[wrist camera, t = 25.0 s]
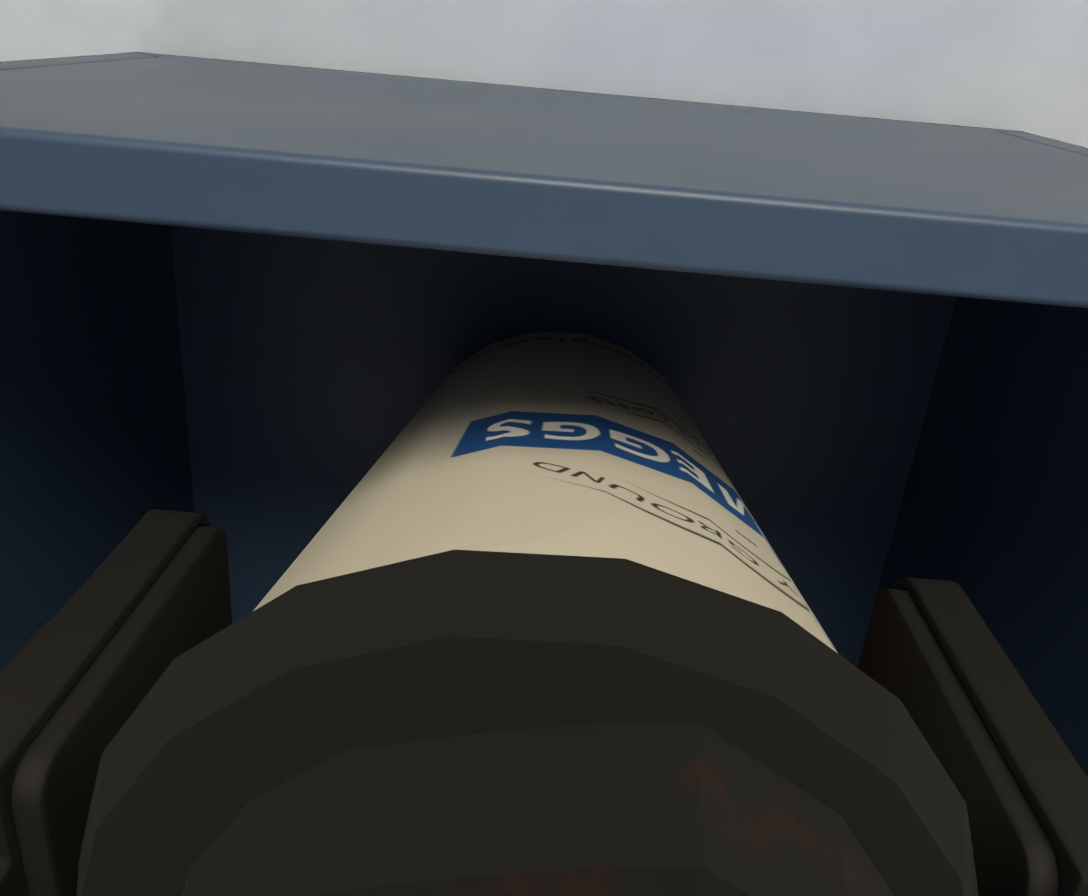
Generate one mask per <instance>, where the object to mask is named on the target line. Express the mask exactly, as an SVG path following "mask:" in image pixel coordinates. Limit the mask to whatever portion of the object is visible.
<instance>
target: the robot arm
mask: <svg viewBox="0 0 1088 896" xmlns="http://www.w3.org/2000/svg"><path fill="white" fill-rule="evenodd" d="M231 624H232V611H231V596H230V581H229V566H228V551H227V539H226V534H225V532H224V530H223V529H222V528H215V527H211V523H210V520H209V518H208V516H207V515H206V514H204V513H193V512H182V511H171V510H160V509H151V510H150V511H149V512H148V513H146V514H145V515H144V517H143V518H142V519H141V520H140V521H139V522H138V523H137V524H136V526H135V527H134V528H133V529H132V530H131V531H130V532H129V533H128V535H127V536H126V537H125V538H124V539H123V540H122V541H121V542H120V544H119V545H118V546H117V547H116V548H115V549H114V550H113V551H112V553H111V554H110V555H109V556H108V557H107V558H106V559H105V560H104V562H103V563H102V564H101V565H100V566H99V567H98V568H97V569H96V571H95V572H94V573H93V574H92V575H91V576H90V577H89V578H88V580H87V581H86V582H85V583H84V584H83V585H82V586H81V587H80V589H79V590H78V591H77V592H76V593H75V594H74V595H73V596H72V598H71V599H70V600H69V601H68V602H67V603H66V604H65V605H64V607H63V608H62V609H61V610H60V611H59V612H58V613H57V614H56V616H55V617H54V618H53V619H52V620H51V621H49V622H46V623H45V624H44V625H43V626H42V627H40V628H39V629H38V630H37V631H36V632H35V633H34V634H33V635H32V636H31V637H30V638H29V640H28V641H27V642H26V643H25V644H24V645H23V646H22V647H21V648H20V650H19V651H18V652H17V653H16V654H15V655H14V656H13V657H12V658H11V660H10V661H9V662H8V663H7V664H6V665H5V666H4V667H3V668H2V670H1V671H0V896H76V893H77V880H78V867H79V859H80V852H81V846H82V841H83V837H84V832H85V828H86V823H87V819H88V814H89V809H90V805H91V800H92V796H93V791H94V787H95V782H96V778H97V773H98V769H99V764H100V760H101V755H102V752H103V751H104V750H105V748H106V747H107V746H108V745H109V743H110V742H111V741H112V739H113V738H114V737H115V735H116V734H117V733H118V732H119V730H120V729H121V728H122V726H123V725H124V724H125V722H126V721H127V720H128V718H129V717H130V716H131V715H132V713H133V712H134V711H135V709H136V708H137V707H138V705H139V704H140V703H141V702H142V700H143V699H144V698H145V696H146V695H147V694H148V692H149V691H150V690H151V689H152V687H153V686H154V685H155V683H156V682H157V681H158V679H159V678H160V677H161V676H162V674H163V673H164V672H165V670H166V669H167V668H168V666H169V665H170V664H171V662H172V661H173V660H174V659H175V658H176V657H178V656H179V655H181V654H183V653H184V652H186V651H188V650H189V649H191V648H193V647H194V646H196V645H198V644H199V643H201V642H203V641H204V640H206V639H208V638H210V637H211V636H213V635H215V634H216V633H218V632H220V631H221V630H223V629H225V628H226V627H228V626H230V625H231ZM857 668H858V669H860V670H861V671H862V672H864V673H865V674H866V675H868V676H869V677H870V678H872V679H873V680H875V681H876V682H877V683H879V684H880V685H881V686H883V687H884V688H885V689H887V690H888V691H889V692H891V693H892V694H893V695H895V696H896V697H898V698H899V699H900V700H901V702H902V703H903V705H904V707H905V708H906V710H907V711H908V713H909V714H910V716H911V718H912V719H913V721H914V722H915V724H916V725H917V727H918V728H919V730H920V732H921V733H922V735H923V736H924V738H925V739H926V741H927V743H928V744H929V746H930V747H931V749H932V750H933V752H934V754H935V755H936V757H937V758H938V760H939V761H940V763H941V765H942V766H943V768H944V769H945V771H946V772H947V774H948V776H949V777H950V779H951V780H952V782H953V783H954V785H955V786H956V788H957V790H958V791H959V793H960V794H961V796H962V797H963V799H964V801H965V802H966V804H967V811H968V819H969V826H970V834H971V841H972V848H973V856H974V863H975V871H976V878H977V885H978V893H979V896H1088V778H1087V776H1086V775H1085V773H1084V772H1083V770H1082V769H1081V767H1080V766H1079V764H1078V763H1077V761H1076V760H1075V758H1074V757H1073V755H1072V754H1071V752H1070V751H1069V749H1068V748H1067V746H1066V745H1065V743H1064V742H1063V740H1062V738H1061V737H1060V735H1059V734H1058V732H1057V731H1056V729H1055V728H1054V726H1053V725H1052V723H1051V722H1050V720H1049V719H1048V717H1047V716H1046V714H1045V713H1044V711H1043V710H1042V708H1041V707H1040V705H1039V704H1038V702H1037V701H1036V699H1035V698H1034V696H1033V695H1032V693H1031V692H1030V690H1029V689H1028V687H1027V686H1026V684H1025V683H1024V681H1023V680H1022V678H1021V677H1020V675H1019V674H1018V672H1017V671H1016V669H1015V667H1014V666H1013V664H1012V663H1011V661H1010V660H1009V658H1008V657H1007V655H1006V654H1005V652H1004V651H1003V649H1002V648H1001V646H1000V645H999V643H998V642H997V640H996V639H995V637H994V636H993V634H992V633H991V631H990V630H989V628H988V627H987V625H986V624H985V622H984V621H983V619H982V618H981V616H980V615H979V613H978V612H977V610H976V609H975V607H974V606H973V604H972V603H971V601H970V600H969V598H968V596H967V595H966V593H965V592H964V590H963V589H962V587H961V586H960V585H959V584H958V583H957V582H952V581H943V580H932V579H921V578H910V577H902V578H900V579H899V580H898V581H897V583H896V584H895V586H894V588H893V589H887V588H883V589H882V590H880V592H879V593H878V595H877V598H876V601H875V604H874V608H873V611H872V615H871V619H870V623H869V626H868V630H867V634H866V637H865V641H864V645H863V649H862V652H861V656H860V660H859V664H858V667H857Z"/></svg>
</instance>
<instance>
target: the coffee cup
mask: <svg viewBox="0 0 1088 896" xmlns="http://www.w3.org/2000/svg"><path fill="white" fill-rule="evenodd" d="M76 896H979V893H978V885H977V878H976V871H975V863H974V856H973V848H972V841H971V834H970V826H969V819H968V811H967V804H966V802H965V801H964V799H963V797H962V796H961V794H960V793H959V791H958V790H957V788H956V786H955V785H954V783H953V782H952V780H951V779H950V777H949V776H948V774H947V772H946V771H945V769H944V768H943V766H942V765H941V763H940V761H939V760H938V758H937V757H936V755H935V754H934V752H933V750H932V749H931V747H930V746H929V744H928V743H927V741H926V739H925V738H924V736H923V735H922V733H921V732H920V730H919V728H918V727H917V725H916V724H915V722H914V721H913V719H912V718H911V716H910V714H909V713H908V711H907V710H906V708H905V707H904V705H903V703H902V702H901V700H900V699H899V698H898V697H896V696H895V695H893V694H892V693H891V692H889V691H888V690H887V689H885V688H884V687H883V686H881V685H880V684H879V683H877V682H876V681H875V680H873V679H872V678H870V677H869V676H868V675H866V674H865V673H864V672H862V671H861V670H860V669H858V668H857V667H856V666H854V665H853V664H851V663H850V662H849V661H847V660H846V659H845V658H843V657H842V656H841V655H839V654H838V652H837V651H836V649H835V647H834V646H833V644H832V643H831V641H830V639H829V638H828V636H827V635H826V633H825V631H824V630H823V628H822V627H821V625H820V623H819V622H818V620H817V619H816V617H815V615H814V614H813V612H812V611H811V609H810V607H809V606H808V604H807V603H806V601H805V599H804V598H803V596H802V595H801V593H800V591H799V590H798V588H797V587H796V585H795V583H794V582H793V580H792V579H791V577H790V575H789V574H788V572H787V571H786V569H785V567H784V566H783V564H782V563H781V561H780V559H779V558H778V556H777V555H776V553H775V551H774V550H773V548H772V547H771V545H770V543H769V542H768V540H767V539H766V537H765V535H764V534H763V532H762V531H761V529H760V527H759V526H758V524H757V523H756V521H755V519H754V518H753V516H752V515H751V513H750V511H749V510H748V508H747V507H746V505H745V503H744V502H743V500H742V499H741V497H740V495H739V494H738V492H737V491H736V489H735V487H734V486H733V484H732V483H731V481H730V479H729V478H728V476H727V475H726V473H725V471H724V470H723V468H722V467H721V465H720V463H719V462H718V460H717V459H716V457H715V455H714V454H713V452H712V451H711V449H710V447H709V446H708V444H707V443H706V441H705V439H704V438H703V436H702V435H701V433H700V431H699V430H698V428H697V427H696V425H695V423H694V422H693V420H692V419H691V417H690V415H689V414H688V412H687V411H686V409H685V408H684V406H683V405H682V403H681V402H680V400H679V399H678V397H677V395H676V394H675V392H674V391H673V389H672V388H671V386H670V385H669V383H668V382H667V380H666V379H665V378H664V377H663V376H662V375H661V374H659V373H658V372H657V371H656V370H654V369H653V368H652V367H650V366H649V365H648V364H647V363H645V362H644V361H643V360H642V359H640V358H639V357H638V356H636V355H635V354H634V353H633V352H631V351H630V350H628V349H625V348H623V347H620V346H617V345H615V344H612V343H609V342H606V341H604V340H601V339H598V338H596V337H593V336H590V335H587V334H582V333H561V332H541V331H537V332H533V333H529V334H526V335H522V336H518V337H514V338H510V339H506V340H503V341H499V342H495V343H492V344H490V345H489V346H487V347H485V348H484V349H482V350H481V351H479V352H478V353H476V354H475V355H473V356H471V357H470V358H468V359H467V360H465V361H464V362H462V363H460V364H459V365H457V366H456V367H454V368H453V370H452V371H451V372H450V373H449V374H448V376H447V377H446V378H445V379H444V380H443V382H442V383H441V384H440V385H439V387H438V388H437V389H436V390H435V391H434V393H433V394H432V395H431V396H430V397H429V399H428V400H427V401H426V402H425V403H424V405H423V406H422V407H421V408H420V410H419V411H418V412H417V413H416V414H415V416H414V417H413V418H412V419H411V420H410V422H409V423H408V424H407V425H406V426H405V428H404V429H403V430H402V431H401V433H400V434H399V435H398V436H397V437H396V439H395V440H394V441H393V442H392V443H391V445H390V446H389V447H388V448H387V449H386V451H385V452H384V453H383V454H382V455H381V457H380V458H379V459H378V460H377V462H376V463H375V464H374V465H373V466H372V468H371V469H370V470H369V471H368V472H367V474H366V475H365V476H364V477H363V478H362V480H361V481H360V482H359V483H358V485H357V486H356V487H355V488H354V489H353V491H352V492H351V493H350V494H349V495H348V497H347V498H346V499H345V500H344V501H343V503H342V504H341V505H340V506H339V508H338V509H337V510H336V511H335V512H334V514H333V515H332V516H331V517H330V518H329V520H328V521H327V522H326V523H325V524H324V526H323V527H322V528H321V529H320V531H319V532H318V533H317V534H316V535H315V537H314V538H313V539H312V540H311V541H310V543H309V544H308V545H307V546H306V547H305V549H304V550H303V551H302V552H301V553H300V555H299V556H298V557H297V558H296V560H295V561H294V562H293V563H292V564H291V566H290V567H289V568H288V569H287V570H286V572H285V573H284V574H283V575H282V576H281V578H280V579H279V580H278V581H277V583H276V584H275V585H274V586H273V587H272V589H271V590H270V591H269V592H268V593H267V595H266V596H265V597H264V598H263V599H262V601H261V602H260V603H259V604H258V606H257V607H256V608H255V609H254V610H253V612H251V613H250V614H248V615H246V616H245V617H243V618H241V619H240V620H238V621H236V622H235V623H233V624H231V625H230V626H228V627H226V628H225V629H223V630H221V631H220V632H218V633H216V634H215V635H213V636H211V637H210V638H208V639H206V640H204V641H203V642H201V643H199V644H198V645H196V646H194V647H193V648H191V649H189V650H188V651H186V652H184V653H183V654H181V655H179V656H178V657H176V658H175V659H174V660H173V661H172V662H171V664H170V665H169V666H168V668H167V669H166V670H165V672H164V673H163V674H162V676H161V677H160V678H159V679H158V681H157V682H156V683H155V685H154V686H153V687H152V689H151V690H150V691H149V692H148V694H147V695H146V696H145V698H144V699H143V700H142V702H141V703H140V704H139V705H138V707H137V708H136V709H135V711H134V712H133V713H132V715H131V716H130V717H129V718H128V720H127V721H126V722H125V724H124V725H123V726H122V728H121V729H120V730H119V732H118V733H117V734H116V735H115V737H114V738H113V739H112V741H111V742H110V743H109V745H108V746H107V747H106V748H105V750H104V751H103V752H102V755H101V760H100V764H99V769H98V773H97V778H96V782H95V787H94V791H93V796H92V800H91V805H90V809H89V814H88V819H87V823H86V828H85V832H84V837H83V841H82V846H81V852H80V859H79V867H78V880H77V893H76Z"/></svg>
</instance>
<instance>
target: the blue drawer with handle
mask: <svg viewBox="0 0 1088 896" xmlns="http://www.w3.org/2000/svg"><path fill="white" fill-rule="evenodd" d="M537 331H541V332H561V333H582V334H587V335H590V336H593V337H596V338H598V339H601V340H604V341H606V342H609V343H612V344H615V345H617V346H620V347H623V348H625V349H628V350H630V351H631V352H633V353H634V354H635V355H636V356H638V357H639V358H640V359H642V360H643V361H644V362H645V363H647V364H648V365H649V366H650V367H652V368H653V369H654V370H656V371H657V372H658V373H659V374H661V375H662V376H663V377H664V378H665V379H666V380H667V382H668V383H669V385H670V386H671V388H672V389H673V391H674V392H675V394H676V395H677V397H678V399H679V400H680V402H681V403H682V405H683V406H684V408H685V409H686V411H687V412H688V414H689V415H690V417H691V419H692V420H693V422H694V423H695V425H696V427H697V428H698V430H699V431H700V433H701V435H702V436H703V438H704V439H705V441H706V443H707V444H708V446H709V447H710V449H711V451H712V452H713V454H714V455H715V457H716V459H717V460H718V462H719V463H720V465H721V467H722V468H723V470H724V471H725V473H726V475H727V476H728V478H729V479H730V481H731V483H732V484H733V486H734V487H735V489H736V491H737V492H738V494H739V495H740V497H741V499H742V500H743V502H744V503H745V505H746V507H747V508H748V510H749V511H750V513H751V515H752V516H753V518H754V519H755V521H756V523H757V524H758V526H759V527H760V529H761V531H762V532H763V534H764V535H765V537H766V539H767V540H768V542H769V543H770V545H771V547H772V548H773V550H774V551H775V553H776V555H777V556H778V558H779V559H780V561H781V563H782V564H783V566H784V567H785V569H786V571H787V572H788V574H789V575H790V577H791V579H792V580H793V582H794V583H795V585H796V587H797V588H798V590H799V591H800V593H801V595H802V596H803V598H804V599H805V601H806V603H807V604H808V606H809V607H810V609H811V611H812V612H813V614H814V615H815V617H816V619H817V620H818V622H819V623H820V625H821V627H822V628H823V630H824V631H825V633H826V635H827V636H828V638H829V639H830V641H831V643H832V644H833V646H834V647H835V649H836V651H837V652H838V654H839V655H841V656H842V657H843V658H845V659H846V660H847V661H849V662H850V663H851V664H853V665H854V666H856V667H858V664H859V660H860V656H861V652H862V649H863V645H864V641H865V637H866V634H867V630H868V626H869V623H870V619H871V615H872V611H873V608H874V604H875V601H876V598H877V595H878V593H879V592H880V590H882V589H883V588H887V589H893V588H894V586H895V584H896V583H897V581H898V580H899V579H900V578H902V577H910V578H921V579H932V580H943V581H952V582H957V583H958V584H959V585H960V586H961V587H962V589H963V590H964V592H965V593H966V595H967V596H968V598H969V600H970V601H971V603H972V604H973V606H974V607H975V609H976V610H977V612H978V613H979V615H980V616H981V618H982V619H983V621H984V622H985V624H986V625H987V627H988V628H989V630H990V631H991V633H992V634H993V636H994V637H995V639H996V640H997V642H998V643H999V645H1000V646H1001V648H1002V649H1003V651H1004V652H1005V654H1006V655H1007V657H1008V658H1009V660H1010V661H1011V663H1012V664H1013V666H1014V667H1015V669H1016V671H1017V672H1018V674H1019V675H1020V677H1021V678H1022V680H1023V681H1024V683H1025V684H1026V686H1027V687H1028V689H1029V690H1030V692H1031V693H1032V695H1033V696H1034V698H1035V699H1036V701H1037V702H1038V704H1039V705H1040V707H1041V708H1042V710H1043V711H1044V713H1045V714H1046V716H1047V717H1048V719H1049V720H1050V722H1051V723H1052V725H1053V726H1054V728H1055V729H1056V731H1057V732H1058V734H1059V735H1060V737H1061V738H1062V740H1063V742H1064V743H1065V745H1066V746H1067V748H1068V749H1069V751H1070V752H1071V754H1072V755H1073V757H1074V758H1075V760H1076V761H1077V763H1078V764H1079V766H1080V767H1081V769H1082V770H1083V772H1084V773H1085V775H1086V776H1087V778H1088V148H1085V147H1081V146H1077V145H1073V144H1069V143H1066V142H1062V141H1058V140H1054V139H1050V138H1046V137H1042V136H1038V135H1034V134H1030V133H1027V132H1023V131H1013V130H1002V129H990V128H979V127H968V126H957V125H946V124H935V123H923V122H912V121H901V120H890V119H879V118H868V117H856V116H845V115H834V114H823V113H812V112H801V111H789V110H778V109H767V108H756V107H745V106H734V105H722V104H711V103H700V102H689V101H678V100H667V99H655V98H644V97H633V96H622V95H611V94H600V93H588V92H577V91H566V90H555V89H544V88H533V87H521V86H510V85H499V84H488V83H477V82H466V81H454V80H443V79H432V78H421V77H410V76H399V75H387V74H376V73H365V72H354V71H343V70H332V69H320V68H309V67H298V66H287V65H276V64H265V63H253V62H242V61H231V60H220V59H209V58H198V57H186V56H175V55H164V54H153V53H142V52H131V53H119V54H105V55H91V56H77V57H63V58H48V59H34V60H20V61H6V62H0V671H1V670H2V668H3V667H4V666H5V665H6V664H7V663H8V662H9V661H10V660H11V658H12V657H13V656H14V655H15V654H16V653H17V652H18V651H19V650H20V648H21V647H22V646H23V645H24V644H25V643H26V642H27V641H28V640H29V638H30V637H31V636H32V635H33V634H34V633H35V632H36V631H37V630H38V629H39V628H40V627H42V626H43V625H44V624H45V623H46V622H49V621H51V620H52V619H53V618H54V617H55V616H56V614H57V613H58V612H59V611H60V610H61V609H62V608H63V607H64V605H65V604H66V603H67V602H68V601H69V600H70V599H71V598H72V596H73V595H74V594H75V593H76V592H77V591H78V590H79V589H80V587H81V586H82V585H83V584H84V583H85V582H86V581H87V580H88V578H89V577H90V576H91V575H92V574H93V573H94V572H95V571H96V569H97V568H98V567H99V566H100V565H101V564H102V563H103V562H104V560H105V559H106V558H107V557H108V556H109V555H110V554H111V553H112V551H113V550H114V549H115V548H116V547H117V546H118V545H119V544H120V542H121V541H122V540H123V539H124V538H125V537H126V536H127V535H128V533H129V532H130V531H131V530H132V529H133V528H134V527H135V526H136V524H137V523H138V522H139V521H140V520H141V519H142V518H143V517H144V515H145V514H146V513H148V512H149V511H150V510H151V509H160V510H171V511H182V512H193V513H204V514H206V515H207V516H208V518H209V520H210V523H211V527H215V528H222V529H223V530H224V532H225V534H226V539H227V551H228V566H229V581H230V596H231V611H232V624H233V623H235V622H236V621H238V620H240V619H241V618H243V617H245V616H246V615H248V614H250V613H251V612H253V610H254V609H255V608H256V607H257V606H258V604H259V603H260V602H261V601H262V599H263V598H264V597H265V596H266V595H267V593H268V592H269V591H270V590H271V589H272V587H273V586H274V585H275V584H276V583H277V581H278V580H279V579H280V578H281V576H282V575H283V574H284V573H285V572H286V570H287V569H288V568H289V567H290V566H291V564H292V563H293V562H294V561H295V560H296V558H297V557H298V556H299V555H300V553H301V552H302V551H303V550H304V549H305V547H306V546H307V545H308V544H309V543H310V541H311V540H312V539H313V538H314V537H315V535H316V534H317V533H318V532H319V531H320V529H321V528H322V527H323V526H324V524H325V523H326V522H327V521H328V520H329V518H330V517H331V516H332V515H333V514H334V512H335V511H336V510H337V509H338V508H339V506H340V505H341V504H342V503H343V501H344V500H345V499H346V498H347V497H348V495H349V494H350V493H351V492H352V491H353V489H354V488H355V487H356V486H357V485H358V483H359V482H360V481H361V480H362V478H363V477H364V476H365V475H366V474H367V472H368V471H369V470H370V469H371V468H372V466H373V465H374V464H375V463H376V462H377V460H378V459H379V458H380V457H381V455H382V454H383V453H384V452H385V451H386V449H387V448H388V447H389V446H390V445H391V443H392V442H393V441H394V440H395V439H396V437H397V436H398V435H399V434H400V433H401V431H402V430H403V429H404V428H405V426H406V425H407V424H408V423H409V422H410V420H411V419H412V418H413V417H414V416H415V414H416V413H417V412H418V411H419V410H420V408H421V407H422V406H423V405H424V403H425V402H426V401H427V400H428V399H429V397H430V396H431V395H432V394H433V393H434V391H435V390H436V389H437V388H438V387H439V385H440V384H441V383H442V382H443V380H444V379H445V378H446V377H447V376H448V374H449V373H450V372H451V371H452V370H453V368H454V367H456V366H457V365H459V364H460V363H462V362H464V361H465V360H467V359H468V358H470V357H471V356H473V355H475V354H476V353H478V352H479V351H481V350H482V349H484V348H485V347H487V346H489V345H490V344H492V343H495V342H499V341H503V340H506V339H510V338H514V337H518V336H522V335H526V334H529V333H533V332H537Z"/></svg>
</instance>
